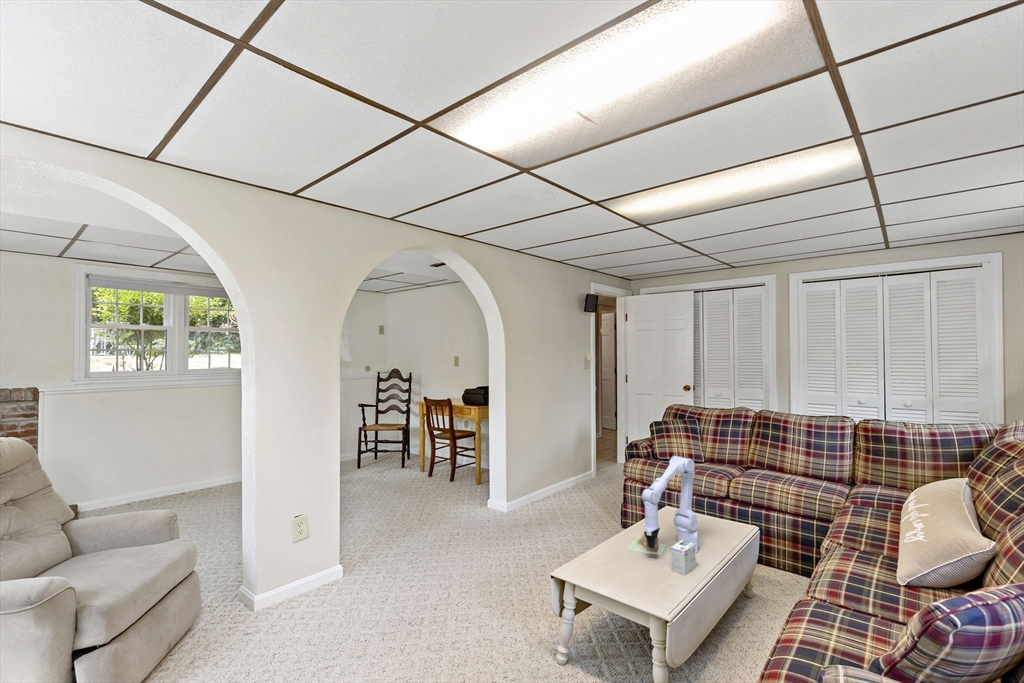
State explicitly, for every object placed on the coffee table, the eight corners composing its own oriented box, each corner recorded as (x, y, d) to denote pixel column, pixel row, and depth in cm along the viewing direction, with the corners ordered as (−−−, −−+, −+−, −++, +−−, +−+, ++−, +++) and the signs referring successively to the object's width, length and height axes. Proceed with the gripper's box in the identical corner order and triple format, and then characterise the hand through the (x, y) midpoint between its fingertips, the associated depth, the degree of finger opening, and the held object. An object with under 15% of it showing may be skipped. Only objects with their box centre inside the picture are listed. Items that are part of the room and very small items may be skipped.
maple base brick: (652, 544, 234) (652, 536, 234) (650, 549, 228) (649, 540, 229) (640, 542, 237) (639, 534, 237) (637, 547, 231) (637, 538, 231)
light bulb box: (681, 563, 215) (681, 539, 216) (696, 567, 210) (695, 543, 211) (670, 571, 208) (669, 546, 208) (685, 576, 203) (684, 550, 203)
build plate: (666, 546, 234) (666, 544, 234) (661, 557, 221) (661, 555, 221) (633, 541, 241) (633, 539, 241) (626, 551, 229) (626, 549, 229)
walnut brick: (658, 548, 220) (658, 537, 220) (656, 552, 216) (656, 541, 216) (648, 547, 222) (648, 536, 222) (646, 550, 218) (646, 539, 218)
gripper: (645, 509, 228) (646, 538, 228) (639, 519, 215) (640, 550, 215) (661, 511, 225) (662, 540, 224) (655, 522, 212) (656, 552, 211)
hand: (652, 545), depth 219 cm, fingers closed on walnut brick, 4 cm apart
